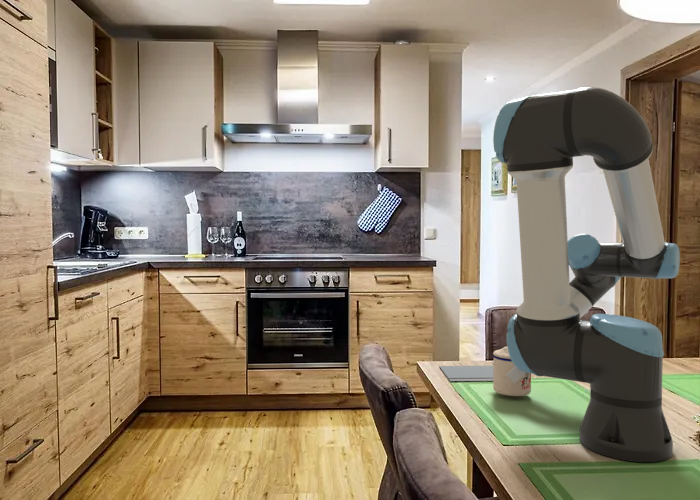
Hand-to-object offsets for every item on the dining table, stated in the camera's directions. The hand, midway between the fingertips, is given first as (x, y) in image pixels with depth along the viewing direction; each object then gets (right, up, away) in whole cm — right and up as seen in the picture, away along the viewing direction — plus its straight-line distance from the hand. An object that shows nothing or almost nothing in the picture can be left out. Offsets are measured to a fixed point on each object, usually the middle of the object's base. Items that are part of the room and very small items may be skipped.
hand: (502, 372), depth 130 cm
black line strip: (0, -5, +12) cm, 13 cm away
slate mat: (-1, -5, +20) cm, 21 cm away
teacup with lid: (+3, -4, 0) cm, 5 cm away
